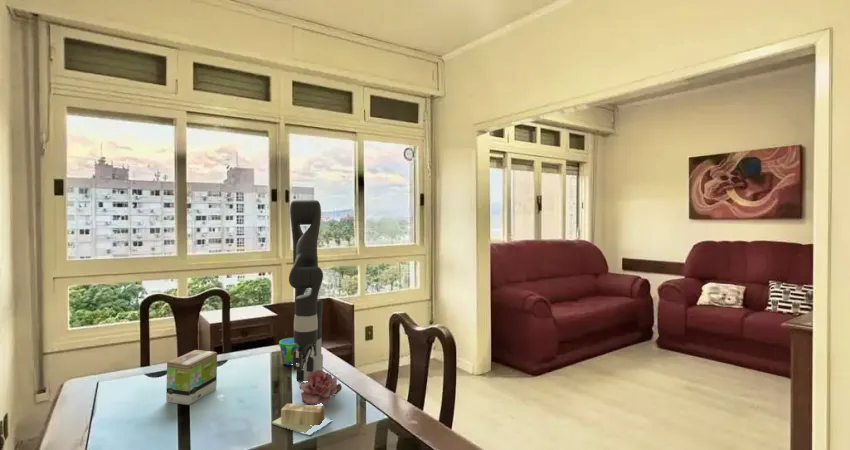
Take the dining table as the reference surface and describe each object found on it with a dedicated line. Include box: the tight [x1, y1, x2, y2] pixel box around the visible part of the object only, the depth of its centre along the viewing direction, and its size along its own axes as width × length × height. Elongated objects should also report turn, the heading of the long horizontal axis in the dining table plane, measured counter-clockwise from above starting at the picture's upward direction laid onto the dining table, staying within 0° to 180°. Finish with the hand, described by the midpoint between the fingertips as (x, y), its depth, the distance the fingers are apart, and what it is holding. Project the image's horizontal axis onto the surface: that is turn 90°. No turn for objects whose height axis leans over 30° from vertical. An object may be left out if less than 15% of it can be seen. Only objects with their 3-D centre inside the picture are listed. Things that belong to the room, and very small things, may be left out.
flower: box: [298, 370, 343, 406], centre depth 168 cm, size 15×15×10 cm
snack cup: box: [278, 337, 298, 366], centre depth 204 cm, size 16×10×10 cm
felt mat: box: [271, 416, 312, 433], centre depth 151 cm, size 11×16×1 cm
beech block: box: [280, 403, 326, 426], centre depth 151 cm, size 5×5×13 cm
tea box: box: [165, 349, 218, 406], centre depth 169 cm, size 15×10×15 cm, turn 168°
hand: (305, 376), depth 150 cm, fingers open, 8 cm apart
